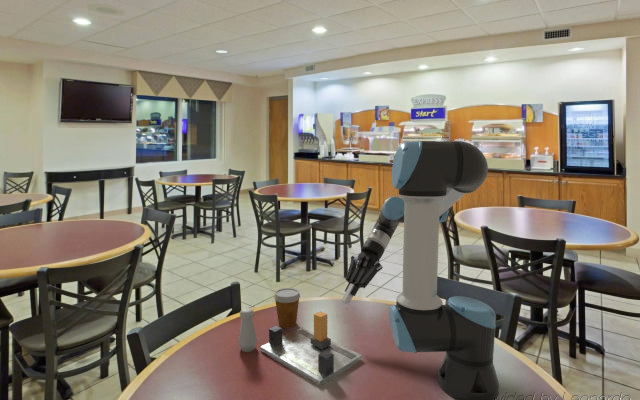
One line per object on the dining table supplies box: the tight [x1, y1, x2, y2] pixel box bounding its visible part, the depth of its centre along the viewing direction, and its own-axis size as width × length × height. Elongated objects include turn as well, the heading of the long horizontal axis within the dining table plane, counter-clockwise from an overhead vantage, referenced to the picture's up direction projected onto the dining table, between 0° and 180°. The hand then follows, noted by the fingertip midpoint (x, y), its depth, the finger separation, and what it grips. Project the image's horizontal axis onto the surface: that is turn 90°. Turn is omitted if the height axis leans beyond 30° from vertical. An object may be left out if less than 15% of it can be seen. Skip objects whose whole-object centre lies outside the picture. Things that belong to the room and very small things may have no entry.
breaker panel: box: [260, 325, 363, 387], centre depth 117 cm, size 26×18×6 cm
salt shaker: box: [238, 307, 258, 353], centre depth 120 cm, size 6×6×13 cm
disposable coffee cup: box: [273, 287, 301, 329], centre depth 137 cm, size 10×10×12 cm
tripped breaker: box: [311, 310, 332, 349], centre depth 119 cm, size 5×4×10 cm
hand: (344, 302), depth 127 cm, fingers closed
